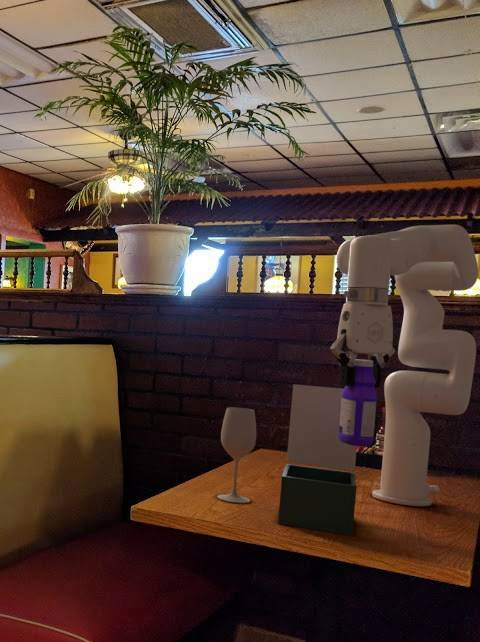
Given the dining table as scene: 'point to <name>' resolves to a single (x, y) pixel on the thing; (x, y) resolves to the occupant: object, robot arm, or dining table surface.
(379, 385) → the robot arm
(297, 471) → the dark green open box
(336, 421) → the cooler lid
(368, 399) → the bottle
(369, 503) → the dining table surface
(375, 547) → the dining table surface
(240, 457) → the wineglass
